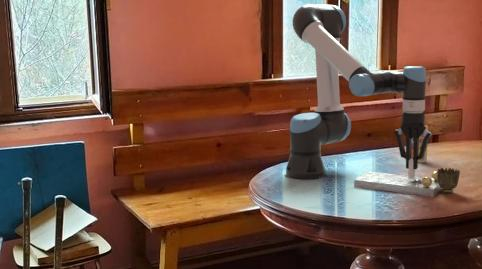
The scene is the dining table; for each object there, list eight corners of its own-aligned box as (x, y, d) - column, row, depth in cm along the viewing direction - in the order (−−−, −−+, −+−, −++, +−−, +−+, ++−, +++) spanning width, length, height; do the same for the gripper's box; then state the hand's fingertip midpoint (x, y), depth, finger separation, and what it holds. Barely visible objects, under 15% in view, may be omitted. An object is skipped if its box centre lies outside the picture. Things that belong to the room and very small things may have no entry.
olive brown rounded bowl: (455, 197, 209) (456, 173, 207) (433, 194, 213) (434, 171, 211) (461, 191, 215) (462, 169, 214) (439, 188, 219) (440, 166, 217)
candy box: (427, 162, 258) (428, 126, 255) (418, 163, 257) (419, 126, 254) (417, 157, 266) (418, 122, 264) (407, 158, 266) (408, 123, 263)
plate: (354, 186, 224) (354, 179, 224) (367, 177, 236) (367, 171, 235) (433, 196, 210) (433, 189, 209) (443, 186, 221) (443, 179, 221)
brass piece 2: (430, 181, 219) (430, 171, 219) (432, 179, 222) (433, 169, 222) (440, 182, 218) (440, 173, 217) (442, 180, 221) (442, 170, 220)
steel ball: (409, 183, 219) (417, 179, 217) (412, 181, 222) (420, 176, 220) (415, 191, 218) (423, 187, 217) (418, 189, 221) (426, 184, 219)
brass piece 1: (420, 187, 212) (420, 177, 212) (422, 184, 215) (423, 175, 214) (430, 188, 210) (430, 178, 210) (432, 186, 213) (433, 176, 213)
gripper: (391, 111, 216) (390, 178, 220) (429, 114, 209) (427, 182, 213) (398, 108, 222) (396, 173, 226) (435, 111, 215) (432, 177, 220)
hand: (411, 177), depth 220 cm, fingers closed
